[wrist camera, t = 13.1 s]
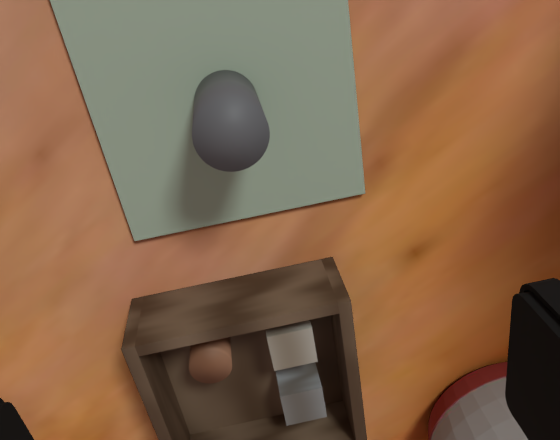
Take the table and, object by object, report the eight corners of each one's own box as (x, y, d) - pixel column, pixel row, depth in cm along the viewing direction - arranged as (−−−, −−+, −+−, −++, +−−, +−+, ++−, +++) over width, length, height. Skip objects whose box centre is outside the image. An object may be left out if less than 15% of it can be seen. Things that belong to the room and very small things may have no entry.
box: (332, 256, 35) (350, 300, 31) (351, 397, 42) (368, 450, 37) (131, 298, 35) (121, 349, 30) (183, 435, 41) (180, 492, 37)
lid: (336, -72, 26) (377, -79, 20) (360, 187, 34) (396, 239, 27) (49, -18, 26) (0, -10, 20) (136, 233, 33) (120, 297, 27)
